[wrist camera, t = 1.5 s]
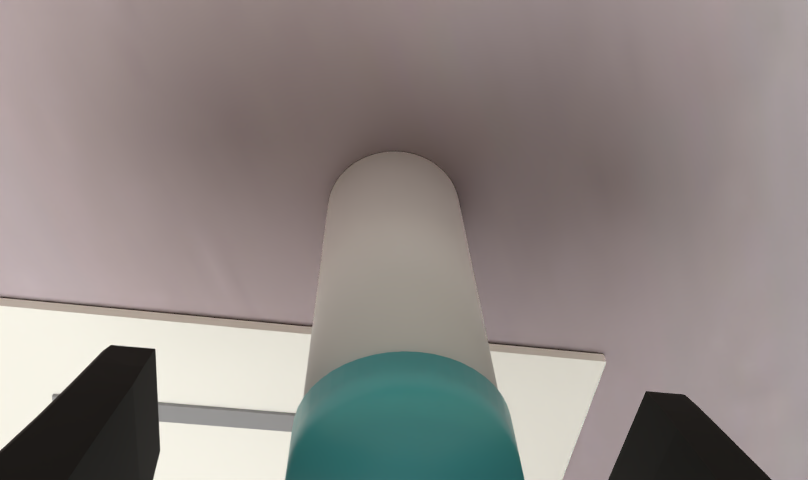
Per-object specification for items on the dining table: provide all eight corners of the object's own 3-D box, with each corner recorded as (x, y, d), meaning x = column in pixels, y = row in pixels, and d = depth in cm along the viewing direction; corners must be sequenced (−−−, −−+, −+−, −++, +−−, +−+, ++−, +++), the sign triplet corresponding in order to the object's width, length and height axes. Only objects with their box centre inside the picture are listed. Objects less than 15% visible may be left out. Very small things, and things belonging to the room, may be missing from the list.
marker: (476, 156, 16) (553, 427, 9) (450, 276, 17) (498, 585, 10) (329, 138, 15) (290, 406, 8) (318, 263, 17) (276, 572, 10)
